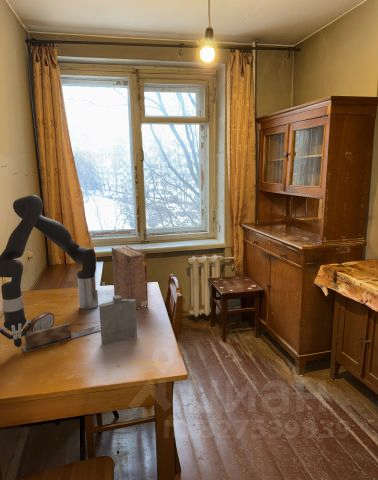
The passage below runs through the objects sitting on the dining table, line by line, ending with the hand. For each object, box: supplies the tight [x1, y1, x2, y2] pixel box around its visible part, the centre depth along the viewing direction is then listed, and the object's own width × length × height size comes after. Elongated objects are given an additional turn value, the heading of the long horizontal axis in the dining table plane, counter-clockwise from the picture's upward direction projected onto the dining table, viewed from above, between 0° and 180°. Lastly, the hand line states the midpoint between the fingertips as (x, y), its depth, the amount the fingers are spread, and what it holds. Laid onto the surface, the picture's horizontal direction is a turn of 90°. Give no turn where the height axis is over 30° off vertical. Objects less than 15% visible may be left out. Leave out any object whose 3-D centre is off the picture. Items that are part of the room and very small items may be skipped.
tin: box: [28, 311, 55, 332], centre depth 164 cm, size 15×3×8 cm, turn 160°
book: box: [111, 245, 149, 310], centre depth 197 cm, size 25×9×30 cm, turn 34°
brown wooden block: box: [24, 322, 72, 350], centre depth 154 cm, size 18×4×6 cm, turn 125°
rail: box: [21, 324, 101, 353], centre depth 159 cm, size 36×5×1 cm, turn 125°
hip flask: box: [98, 295, 138, 345], centre depth 155 cm, size 16×4×20 cm, turn 114°
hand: (18, 346), depth 147 cm, fingers closed
